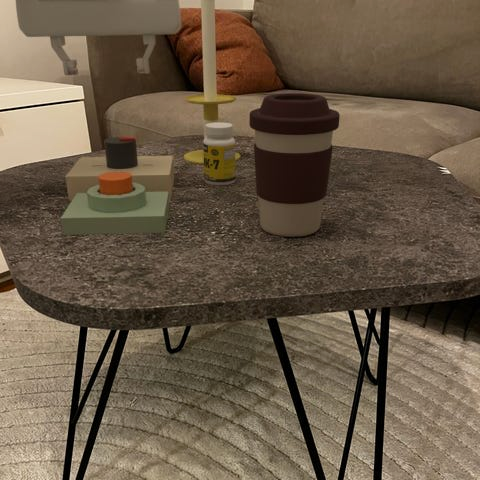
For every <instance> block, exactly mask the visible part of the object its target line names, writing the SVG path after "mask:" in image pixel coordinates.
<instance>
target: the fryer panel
mask: <svg viewBox="0 0 480 480" xmlns="http://www.w3.org/2000/svg"><path fill="white" fill-rule="evenodd" d="M137 159H138V165H137V166H135V167H132V168H126V169H113V168H109V167H107V163H106V156H85V157H84V156H83V157H79V159H78V160H77V161H76V162H75V164H74V165H73V166H72V167H71V169H70V170H69V171H68V172H67V174H66V175H65V184H66V191H67V197H68V202H71V201H72V200H73V198H74V197H75V195H76V194H77V193H87V191H88V190H89V188H91V187H94V186H96V185H99V180H98V176H99V175H101V174H103V173H107V172H127V173H130V174H131V175H132V183H138V184H140V185H142V186H144V187H145V189H146V192H166V191H168V192H169V200H171V199H172V195H173V189H174V184H175V183H174V182H175V162H174V155H142V156H141V155H137Z"/></svg>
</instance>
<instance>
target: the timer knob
mask: <svg viewBox="0 0 480 480" xmlns="http://www.w3.org/2000/svg"><path fill="white" fill-rule="evenodd" d="M103 144H104V153H105V157H106V163H107V167H109V168H113V169H126V168H132V167H135V166H137V165H138V159H137V156H138V149H137V148H138V147H137V139H136V137H134V136H133V137H131V136H116V137H109V138H106V139H104V140H103Z"/></svg>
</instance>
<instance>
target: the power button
mask: <svg viewBox="0 0 480 480" xmlns="http://www.w3.org/2000/svg"><path fill="white" fill-rule="evenodd" d="M98 180H99V188H100V194H105V195H122V194H127V193H130V192H133V184H132V175H131V174H130V173H127V172H107V173H103V174H101V175H99V176H98Z"/></svg>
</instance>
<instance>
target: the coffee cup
mask: <svg viewBox="0 0 480 480" xmlns="http://www.w3.org/2000/svg"><path fill="white" fill-rule="evenodd" d="M340 116H341V115H340V112H339V111H338V110H335V109H332V108H330V106H329V103H328V100H327V98H326V97H325V96H323V95H320V94H313V93H303V92H286V93H285V92H284V93H274V94H268V95H266V96H265V97H264V98H263V100H262V102H261V105H260V107H259V108H255V109H252V110H250V112H249V127H250V128H251V129H253V130H254V136H255V143H254V145H253V157H254V158H253V159H254V169H255V170H254V174H255V189H256V190H255V191H256V195H257V196H258V211H259V213H258V214H259V225H260V228H261V229H262V230H263V231H265V232H266V233H268V234H270V235H273V236H277V237H278V236H279V237H284V238H285V237H286V238H297V237H299V238H300V237H306V236H310V235H312V234H315V233H316V232H317V231H319V229H320V228H321V223H322V216H323V210H324V209H323V208H324V201H325V198H326V196H327V194H328V193H327V192H328V185H329V179H330V170H331V163H332V155H333V149H334V147H333V144H332V141H333V134H334V131H336V130H338V129H339V127H340Z"/></svg>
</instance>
